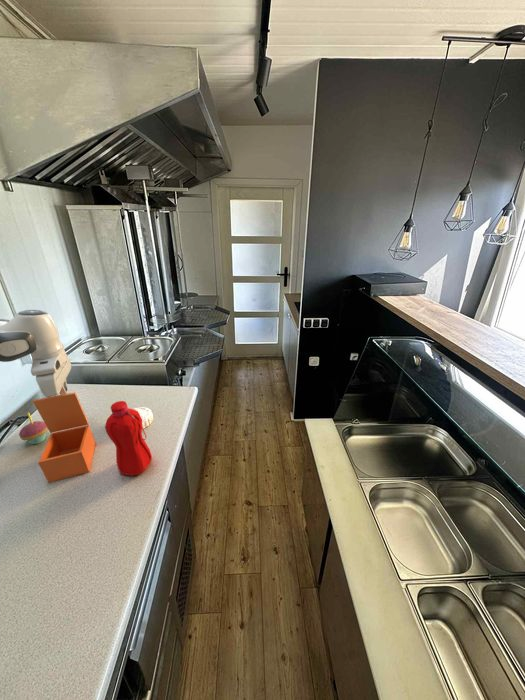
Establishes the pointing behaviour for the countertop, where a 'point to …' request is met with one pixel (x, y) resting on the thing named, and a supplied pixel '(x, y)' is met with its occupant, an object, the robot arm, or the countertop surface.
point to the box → (71, 463)
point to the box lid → (61, 412)
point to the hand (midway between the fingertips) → (64, 392)
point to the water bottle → (128, 439)
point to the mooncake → (145, 416)
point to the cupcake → (33, 431)
